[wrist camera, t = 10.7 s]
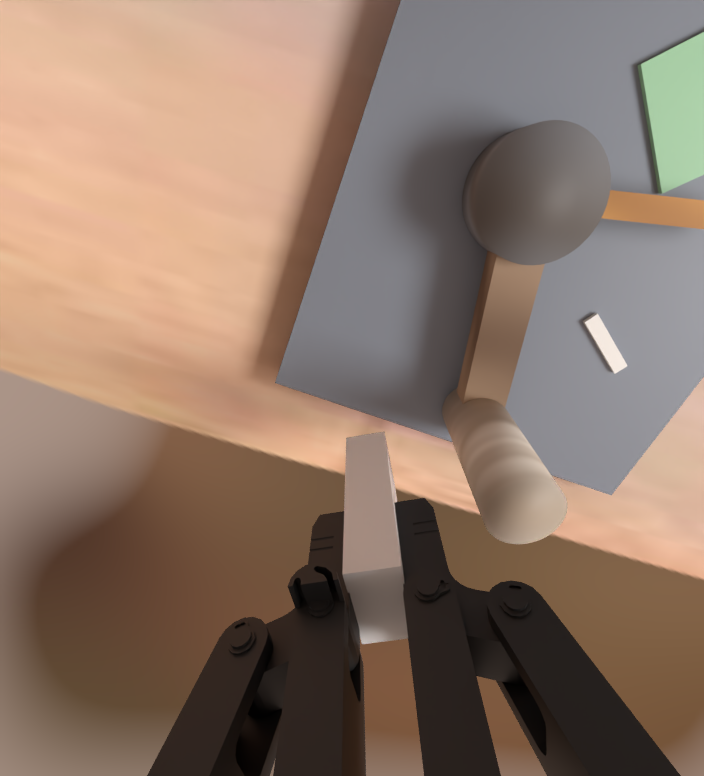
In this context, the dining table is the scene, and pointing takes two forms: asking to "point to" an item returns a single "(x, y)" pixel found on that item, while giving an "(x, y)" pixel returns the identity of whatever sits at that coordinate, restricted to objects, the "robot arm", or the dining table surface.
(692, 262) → the tuner board
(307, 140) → the dining table surface
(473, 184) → the peg lever
